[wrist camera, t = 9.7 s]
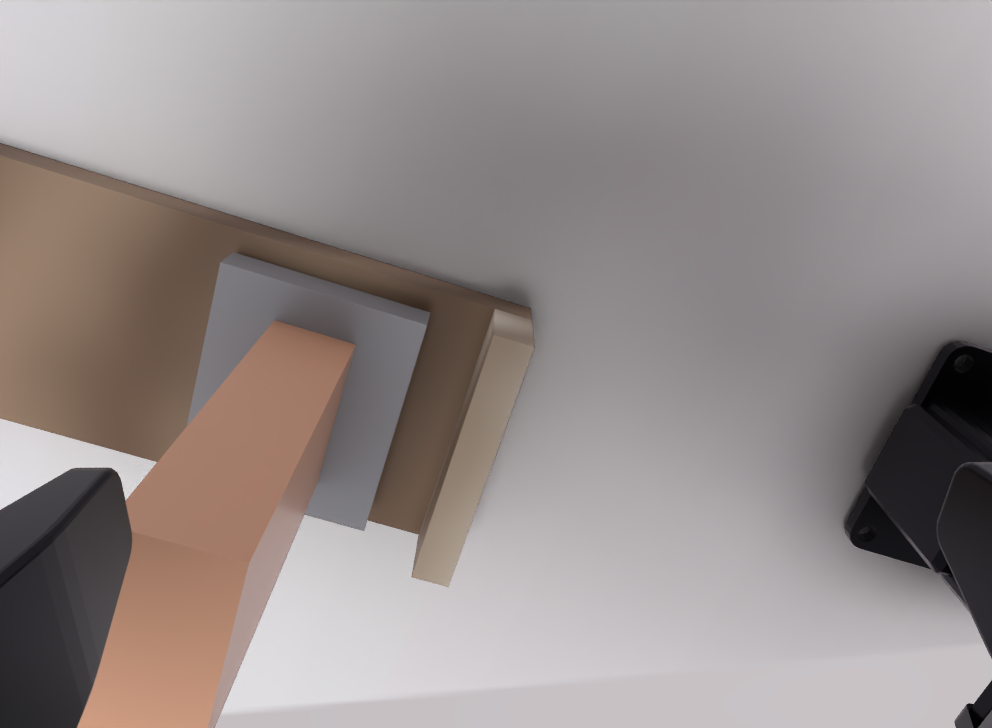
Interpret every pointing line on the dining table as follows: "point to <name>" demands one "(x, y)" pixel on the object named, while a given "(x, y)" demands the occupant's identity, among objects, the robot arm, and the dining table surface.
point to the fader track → (182, 328)
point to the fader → (250, 482)
